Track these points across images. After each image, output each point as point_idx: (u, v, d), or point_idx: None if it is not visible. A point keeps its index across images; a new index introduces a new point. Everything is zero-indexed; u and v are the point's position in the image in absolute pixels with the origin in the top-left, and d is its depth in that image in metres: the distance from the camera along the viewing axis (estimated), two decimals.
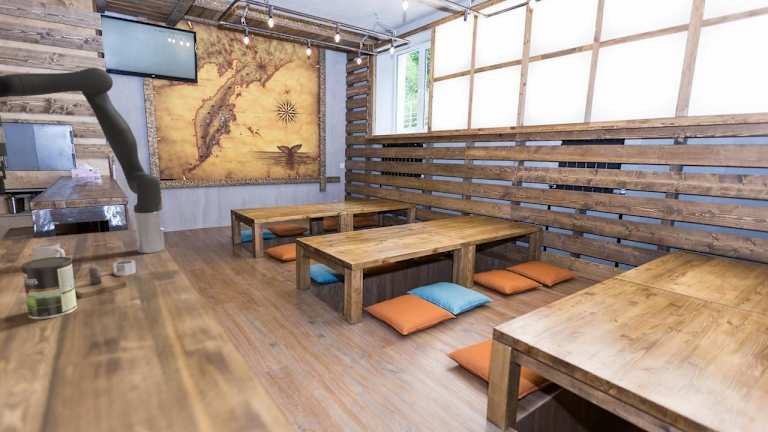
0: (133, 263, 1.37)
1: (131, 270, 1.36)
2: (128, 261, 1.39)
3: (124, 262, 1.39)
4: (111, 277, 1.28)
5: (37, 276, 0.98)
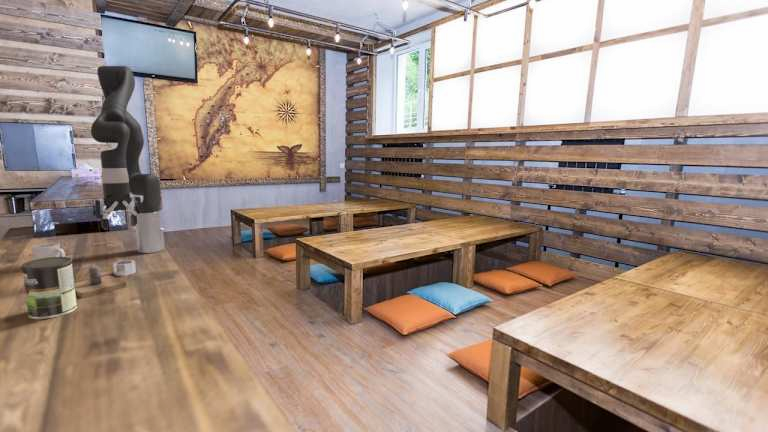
0: (133, 263, 1.37)
1: (131, 270, 1.36)
2: (128, 261, 1.39)
3: (124, 262, 1.39)
4: (111, 277, 1.28)
5: (37, 276, 0.98)
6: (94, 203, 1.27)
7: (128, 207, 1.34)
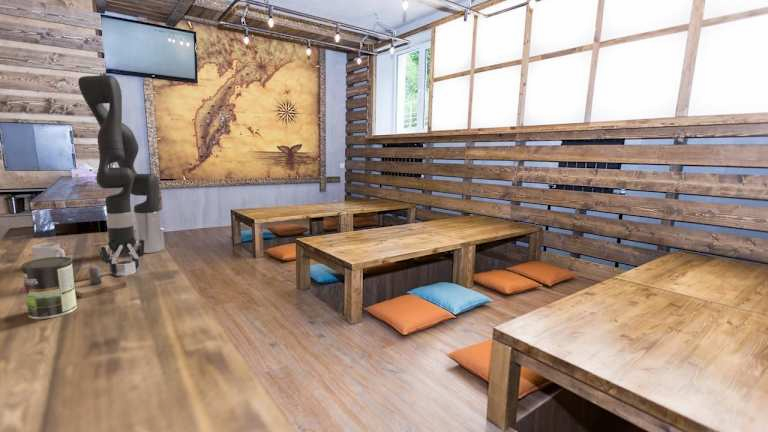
0: (133, 263, 1.37)
1: (131, 270, 1.36)
2: (128, 261, 1.39)
3: (124, 262, 1.39)
4: (111, 277, 1.28)
5: (37, 276, 0.98)
6: (100, 250, 1.30)
7: (131, 250, 1.37)
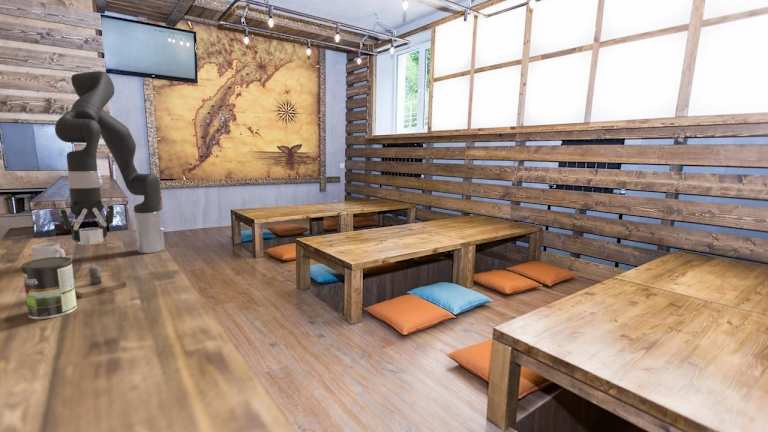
0: (100, 231, 1.20)
1: (97, 238, 1.19)
2: (95, 229, 1.21)
3: (90, 230, 1.21)
4: (111, 277, 1.28)
5: (37, 276, 0.98)
6: (60, 213, 1.13)
7: (98, 216, 1.19)
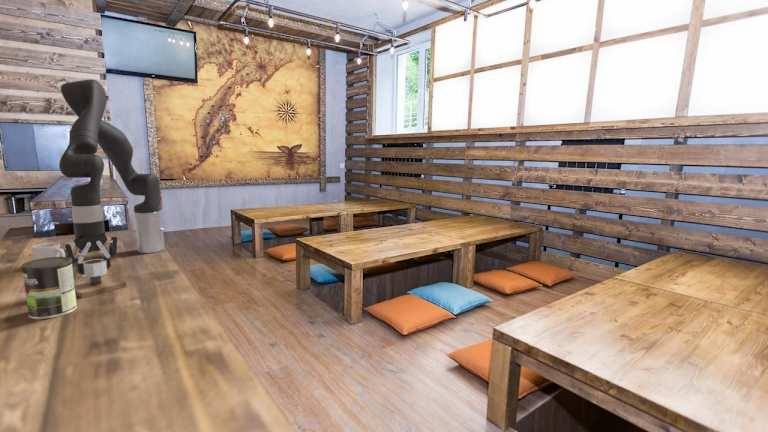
0: (104, 263, 1.21)
1: (101, 271, 1.20)
2: (98, 260, 1.23)
3: (94, 262, 1.23)
4: (111, 277, 1.28)
5: (37, 276, 0.98)
6: (64, 248, 1.14)
7: (101, 248, 1.21)
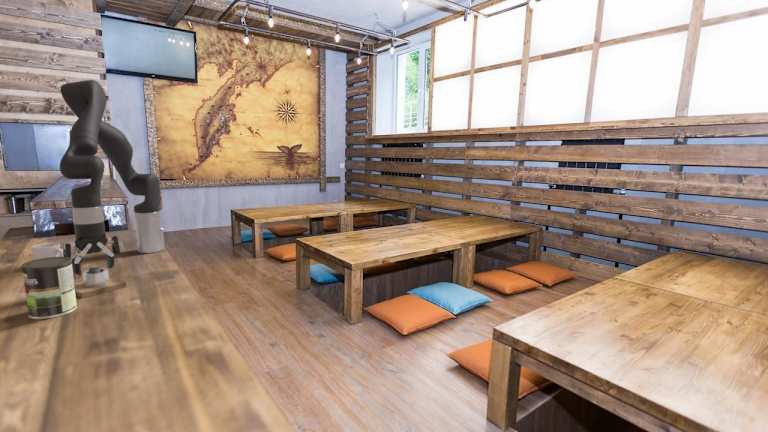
0: (105, 272, 1.22)
1: (103, 280, 1.21)
2: (100, 270, 1.24)
3: None
4: (111, 277, 1.28)
5: (37, 276, 0.98)
6: (64, 247, 1.14)
7: (103, 248, 1.21)
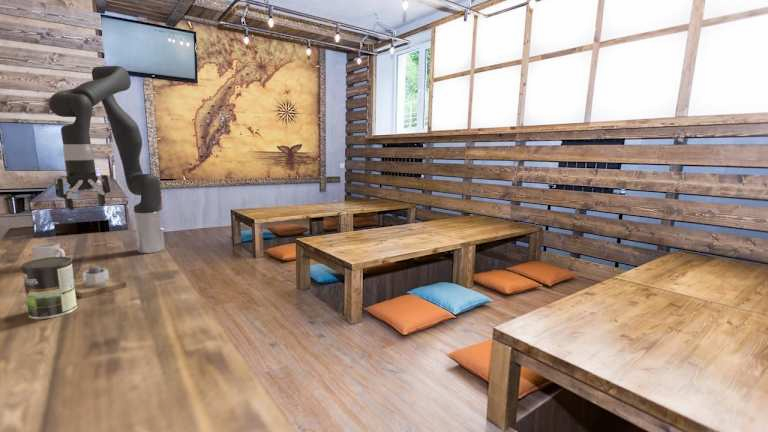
0: (105, 272, 1.22)
1: (103, 280, 1.21)
2: (100, 270, 1.24)
3: None
4: (111, 277, 1.28)
5: (37, 276, 0.98)
6: (56, 182, 1.19)
7: (94, 186, 1.27)
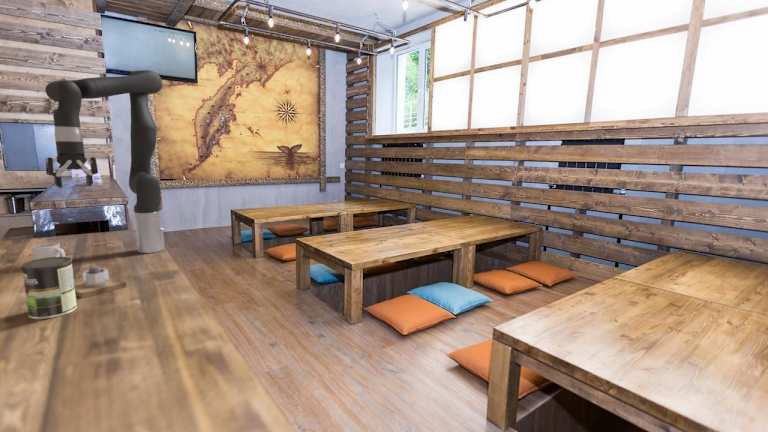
0: (105, 272, 1.22)
1: (103, 280, 1.21)
2: (100, 270, 1.24)
3: None
4: (111, 277, 1.28)
5: (37, 276, 0.98)
6: (47, 160, 1.30)
7: (83, 166, 1.37)
